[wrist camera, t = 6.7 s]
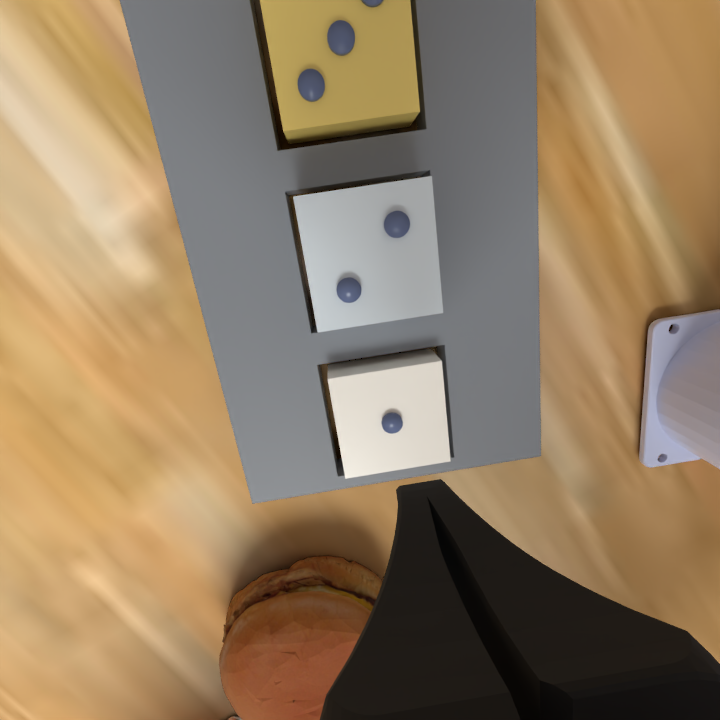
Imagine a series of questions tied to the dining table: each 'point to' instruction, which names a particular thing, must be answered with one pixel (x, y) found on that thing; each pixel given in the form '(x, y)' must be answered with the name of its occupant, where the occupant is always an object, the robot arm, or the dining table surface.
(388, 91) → the tile three
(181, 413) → the dining table surface
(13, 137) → the dining table surface
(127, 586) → the dining table surface
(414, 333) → the board
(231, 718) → the ink box
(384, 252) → the tile two
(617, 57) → the dining table surface
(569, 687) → the robot arm
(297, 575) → the burger
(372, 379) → the tile one
